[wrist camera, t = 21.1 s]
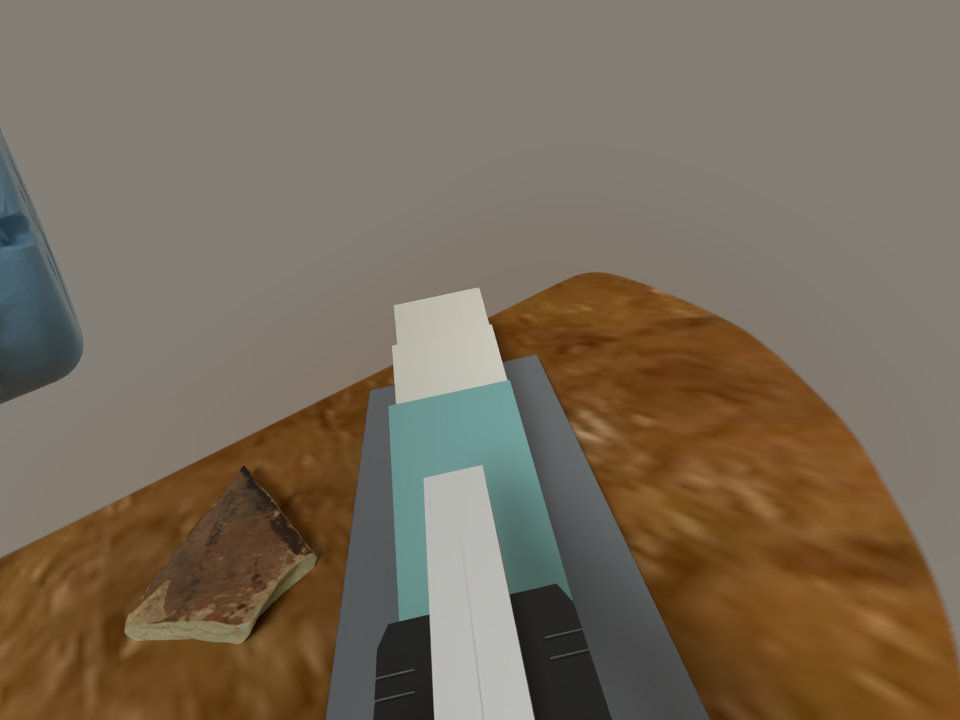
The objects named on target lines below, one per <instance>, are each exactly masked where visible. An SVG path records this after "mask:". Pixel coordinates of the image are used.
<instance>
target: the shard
mask: <svg viewBox="0 0 960 720" xmlns="http://www.w3.org/2000/svg"><path fill="white" fill-rule="evenodd" d="M316 560H317V555H316V554H315V552H314V551H313V550H312V549H311V548H309V547H308V544H307V543H306V542H305V541H303V539H302V537H301V535H300V534H299V532H298V531H297V530H296V529H295V528H294V527H293V526H292V525H291V524H290V522H289V520H288V518H287V517H286V516H285V515H284V514H283V513H282V511H281V510H280V508H279V506H278V505H277V503H276V502H275V501H273V498H272V497H270V496H269V494H268V493H267V491H265V490H264V489H263V488H262V487H261V486H260V485H258V484H257V483H256V481H254V479H253V477H252V473H251V472H250V471H249V470H248V469H247V468H246V467H245V466H243V467H242V468H241V470H240V472H239V473H238V475H237V476H236V477H235V478H234V479H233V481H232V482H231V483H230V484H229V485H228V487H227V488H226V490H225V491H224V493H223V495H222V497H221V498H220V499H219V500H218V501H217V502H216V503H215V504H214V506H213V507H212V508H211V509H210V510H209V511H208V512H207V513H206V514H205V515H204V516H203V517H202V518H201V519H200V521H199V522H198V523H197V524H196V525H195V526H194V528H193V529H192V530H191V532H190V533H189V534H188V536H187V537H186V539H185V540H184V541H183V542H182V543H181V544H180V545H179V546H178V547H177V548H176V550H175V551H174V553H173V554H172V555H171V557H170V558H169V560H168V561H167V562H166V564H165V565H164V566H163V567H162V568H161V569H160V571H159V572H158V573H157V575H156V576H155V577H154V579H153V580H152V582H151V583H150V585H149V586H148V588H147V591H146V592H145V594H144V595H143V596H142V597H141V599H140V600H139V601H138V603H137V604H136V605H135V607H134V608H133V609H132V610H131V612H130V613H129V615H128V617H127V620H126V625H125V634H126V635H127V636H128V637H130V638H131V639H132V640H133V641H145V640H180V639H196V640H203V641H209V642H229V643H234V644H241V643H243V642H244V641H245V640H246V639H247V637H248V636H249V635H250V633H251V630H252V628H253V626H254V625H255V623H256V620H257V618H258V617H259V616H261V615H262V614H263V613H264V612H265V611H266V609H267V608H268V607H269V606H270V605H271V604H272V603H273V602H274V601H275V600H277V599H278V598H279V597H280V596H281V594H282V593H283V592H285V591H286V590H287V589H289V588H290V587H291V586H292V585H294V584H295V583H296V582H297V581H298V580H300V579H301V578H302V577H303V576H304V575H305V574H307V573H308V572H309V571H311V570H312V569H313V568H314V567H315V566H316Z"/></svg>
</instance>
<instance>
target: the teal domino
mask: <svg viewBox="0 0 960 720" xmlns="http://www.w3.org/2000/svg"><path fill="white" fill-rule="evenodd" d="M388 409H389V429H390V449H391V469H392V488H393V508H394V528H395V547H396V567H397V587H398V606H399V621H403V620H407V619H412V618H416V617H420V616H425V615H429V614H430V612H429V590H428V568H427V546H426V523H425V501H424V479H423V478H426V477H431V476H435V475H440V474H444V473H448V472H453V471H457V470H462V469H466V468H471V467H475V466H480V465H483V470H484V474H485V479H486V483H487V487H488V492H489V496H490V501H491V505H492V510H493V514H494V519H495V523H496V528H497V532H498V536H499V541H500V545H501V550H502V555H503V560H504V565H505V569H506V574H507V579H508V584H509V589H510V594H513V593H518V592H522V591H526V590H531V589H535V588H539V587H544V586H548V585H552V584H558V585H559V586H560V588H561V589H562V590H563V591H564V592H565V593H566V594H567V595H568V597H569V598H570V599H571V600H572V596H571V593H570V589H569V586H568V582H567V579H566V575H565V572H564V568H563V565H562V561H561V557H560V554H559V550H558V547H557V543H556V540H555V536H554V533H553V529H552V526H551V522H550V519H549V515H548V512H547V508H546V505H545V501H544V498H543V494H542V491H541V487H540V484H539V480H538V477H537V473H536V470H535V466H534V463H533V459H532V456H531V452H530V449H529V445H528V442H527V438H526V435H525V431H524V428H523V424H522V421H521V417H520V414H519V410H518V407H517V403H516V400H515V396H514V393H513V389H512V386H511V382H510V380H507V381H502V382H497V383H493V384H488V385H484V386H479V387H474V388H470V389H465V390H460V391H456V392H451V393H446V394H442V395H437V396H433V397H428V398H423V399H419V400H414V401H409V402H405V403H400V404H395V405H391V406H388ZM572 601H573V600H572Z"/></svg>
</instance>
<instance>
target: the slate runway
mask: <svg viewBox="0 0 960 720" xmlns="http://www.w3.org/2000/svg"><path fill="white" fill-rule="evenodd" d="M502 363H503V367H504V370H505V374H506V377H507V380H510V382H511V386H512V389H513V393H514V396H515V400H516V403H517V407H518V410H519V414H520V417H521V421H522V424H523V428H524V431H525V435H526V438H527V442H528V445H529V449H530V452H531V456H532V459H533V463H534V466H535V470H536V473H537V477H538V480H539V484H540V487H541V491H542V494H543V498H544V501H545V505H546V508H547V512H548V515H549V519H550V522H551V526H552V529H553V533H554V536H555V540H556V543H557V547H558V550H559V554H560V557H561V561H562V565H563V568H564V572H565V575H566V579H567V582H568V586H569V589H570V593H571V596H572V600H573V602H574V605H575V608H576V611H577V614H578V617H579V620H580V623H581V626H582V630H583V632H584V636H585V639H586V642H587V645H588V648H589V652H590V654H591V657H592V660H593V663H594V666H595V669H596V672H597V675H598V678H599V681H600V684H601V687H602V690H603V693H604V697H605V700H606V703H607V706H608V709H609V712H610V715H611V718H612V720H710V719H709V717H708V714H707V712H706V710H705V708H704V706H703V704H702V702H701V700H700V698H699V695H698V693H697V691H696V689H695V687H694V685H693V683H692V681H691V679H690V677H689V674H688V672H687V670H686V668H685V666H684V664H683V662H682V660H681V658H680V655H679V653H678V651H677V649H676V647H675V645H674V643H673V641H672V639H671V637H670V634H669V632H668V630H667V628H666V626H665V624H664V622H663V620H662V618H661V615H660V613H659V611H658V609H657V607H656V605H655V603H654V601H653V599H652V597H651V594H650V592H649V590H648V588H647V586H646V584H645V582H644V580H643V578H642V575H641V573H640V571H639V569H638V567H637V565H636V563H635V561H634V559H633V557H632V554H631V552H630V550H629V548H628V546H627V544H626V542H625V540H624V538H623V535H622V533H621V531H620V529H619V527H618V525H617V523H616V521H615V519H614V517H613V514H612V512H611V510H610V508H609V506H608V504H607V502H606V500H605V498H604V495H603V493H602V491H601V489H600V487H599V485H598V483H597V481H596V479H595V477H594V474H593V472H592V470H591V468H590V466H589V464H588V462H587V460H586V458H585V455H584V453H583V451H582V449H581V447H580V445H579V443H578V441H577V439H576V437H575V434H574V432H573V430H572V428H571V426H570V424H569V422H568V420H567V418H566V416H565V413H564V411H563V409H562V407H561V405H560V403H559V401H558V399H557V397H556V394H555V392H554V390H553V388H552V386H551V384H550V382H549V380H548V378H547V376H546V373H545V371H544V369H543V367H542V365H541V363H540V361H539V359H538V357H537V355H533V356H528V357H523V358H519V359H514V360H509V361H505V362H502ZM395 404H396V396H395V385H393V386H388V387H384V388H379V389H374V390H370V395H369V402H368V410H367V417H366V424H365V432H364V439H363V447H362V454H361V462H360V469H359V476H358V484H357V491H356V499H355V506H354V514H353V521H352V528H351V536H350V543H349V551H348V558H347V566H346V573H345V580H344V588H343V595H342V603H341V610H340V618H339V625H338V632H337V640H336V647H335V655H334V662H333V670H332V677H331V684H330V692H329V699H328V707H327V714H326V720H373V715H374V705H375V700H374V696H375V682H376V657H377V648H378V646H379V644H380V641H381V639H382V637H383V634H384V632H385V630H386V628H387V625H388V624H390V623H394V622H399V606H398V587H397V567H396V547H395V528H394V508H393V488H392V469H391V449H390V429H389V409H388V406H391V405H395Z"/></svg>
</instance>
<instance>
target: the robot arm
mask: <svg viewBox="0 0 960 720" xmlns="http://www.w3.org/2000/svg"><path fill="white" fill-rule="evenodd" d="M82 353H83V337H82V332H81V329H80V326H79V322H78V319H77V316H76V313H75V310H74V308H73V305H72V302H71V299H70V296H69V294H68V291H67V288H66V286H65V283H64V280H63V278H62V275H61V273H60V270H59V268H58V265H57V263H56V260H55V258H54V255H53V252H52V250H51V247H50V245H49V242H48V240H47V237H46V235H45V232H44V230H43V227H42V225H41V223H40V220H39V218H38V215H37V213H36V210H35V208H34V206H33V203H32V201H31V199H30V196H29V194H28V192H27V189H26V187H25V184H24V182H23V179H22V177H21V175H20V172H19V170H18V168H17V165H16V163H15V161H14V159H13V156H12V155H11V152H10V149H9V147H8V145H7V143H6V141H5V139H4V136H3V134H2V132H1V130H0V404H2V403H4V402H7V401H9V400H12V399H14V398H17V397H19V396H21V395H24V394H26V393H29V392H31V391H33V390H36V389H39V388H41V387H44V386H46V385H49V384H51V383H53V382H56V381H58V380H60V379H62V378H63V377H65V376H66V375H68V374H69V373H70V372H71V371H72V370H73V369H74V368H75V367H76V365H77V364H78V362H79V361H80V358H81V355H82ZM423 479H424V501H425V523H426V546H427V568H428V590H429V612H430V614H429V615H425V616H420V617H416V618H412V619H407V620H403V621H399V622H394V623H390V624H388V625H387V628H386V630H385V632H384V634H383V637H382V639H381V641H380V644H379V646H378V648H377V657H376V682H375V696H374V700H375V705H374V715H373V720H612V718H611V715H610V712H609V709H608V706H607V703H606V700H605V697H604V693H603V690H602V687H601V684H600V681H599V678H598V675H597V672H596V669H595V666H594V663H593V660H592V657H591V654H590V652H589V648H588V645H587V642H586V639H585V636H584V632H583V630H582V626H581V623H580V620H579V617H578V614H577V611H576V608H575V605H574V602H573V601H572V600H571V599H570V598H569V597H568V595H567V594H566V593H565V592H564V591H563V590H562V589H561V588H560V586H559V585H558V584H552V585H548V586H544V587H539V588H535V589H531V590H526V591H522V592H518V593H513V594H510V589H509V584H508V579H507V574H506V569H505V565H504V560H503V555H502V550H501V545H500V541H499V536H498V532H497V528H496V523H495V519H494V514H493V510H492V505H491V501H490V496H489V492H488V487H487V483H486V479H485V474H484V470H483V465H480V466H475V467H471V468H466V469H462V470H457V471H453V472H448V473H444V474H440V475H435V476H431V477H426V478H423Z"/></svg>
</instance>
